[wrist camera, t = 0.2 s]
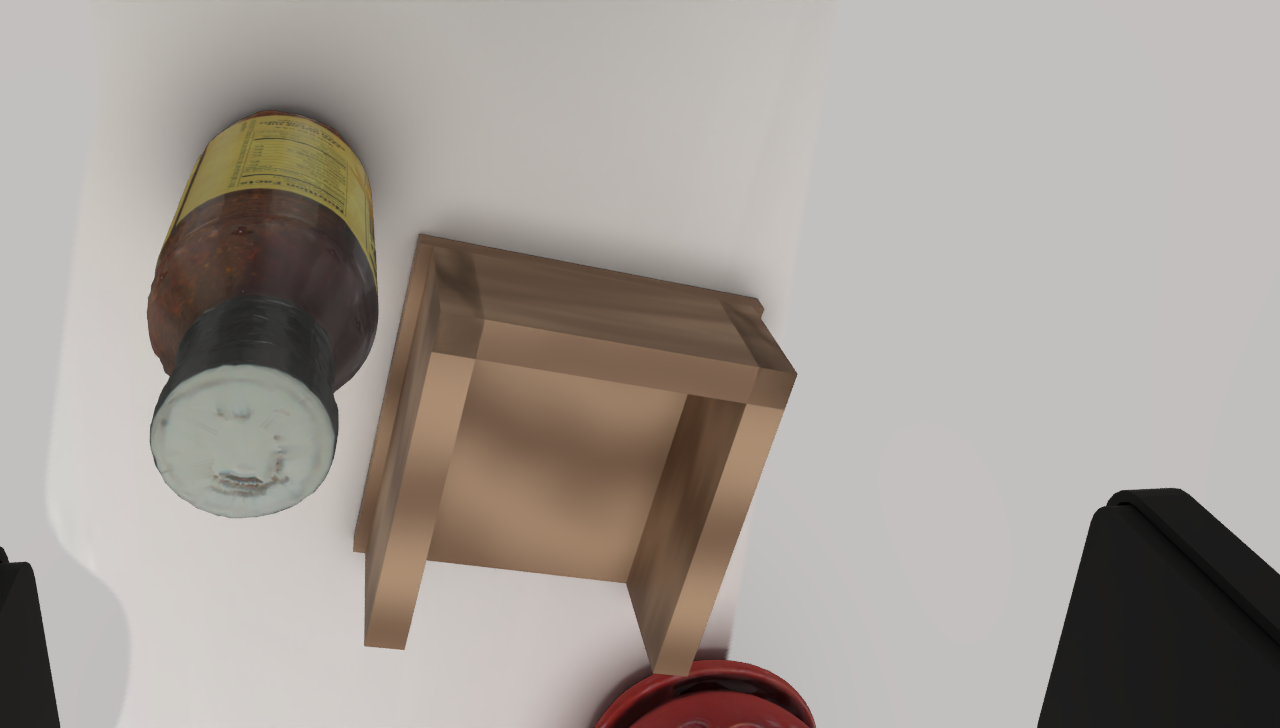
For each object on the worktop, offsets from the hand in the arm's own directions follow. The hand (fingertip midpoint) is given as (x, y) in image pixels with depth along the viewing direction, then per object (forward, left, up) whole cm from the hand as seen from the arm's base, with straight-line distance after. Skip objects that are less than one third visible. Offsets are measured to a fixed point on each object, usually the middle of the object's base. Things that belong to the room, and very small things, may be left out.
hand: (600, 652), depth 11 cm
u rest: (+17, +8, -36) cm, 41 cm away
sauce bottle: (+9, -4, -36) cm, 37 cm away
